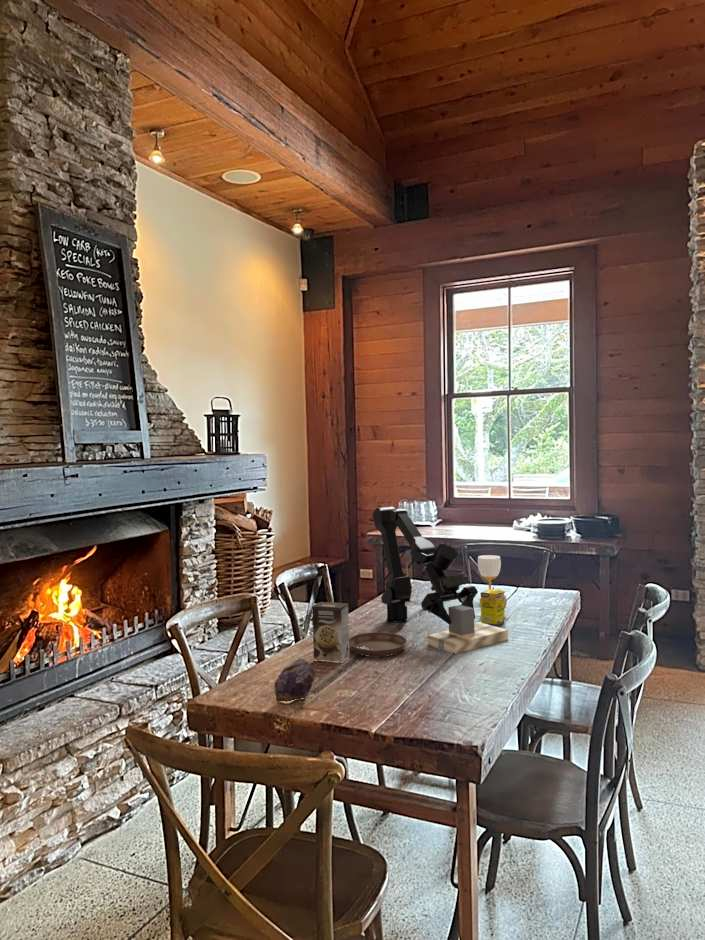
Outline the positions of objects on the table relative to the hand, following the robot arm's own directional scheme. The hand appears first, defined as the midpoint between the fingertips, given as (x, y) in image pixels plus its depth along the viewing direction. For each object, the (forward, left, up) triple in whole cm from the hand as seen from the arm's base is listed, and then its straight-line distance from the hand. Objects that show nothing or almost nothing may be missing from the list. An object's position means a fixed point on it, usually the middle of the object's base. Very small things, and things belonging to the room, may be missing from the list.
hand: (462, 621), depth 219 cm
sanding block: (0, 0, -4) cm, 4 cm away
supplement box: (+12, +22, -7) cm, 27 cm away
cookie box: (-39, -13, -7) cm, 42 cm away
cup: (+16, +58, -7) cm, 61 cm away
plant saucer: (-26, -4, -7) cm, 27 cm away
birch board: (+2, +2, -7) cm, 7 cm away
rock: (-45, -42, -7) cm, 62 cm away
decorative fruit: (+14, +32, -7) cm, 36 cm away
